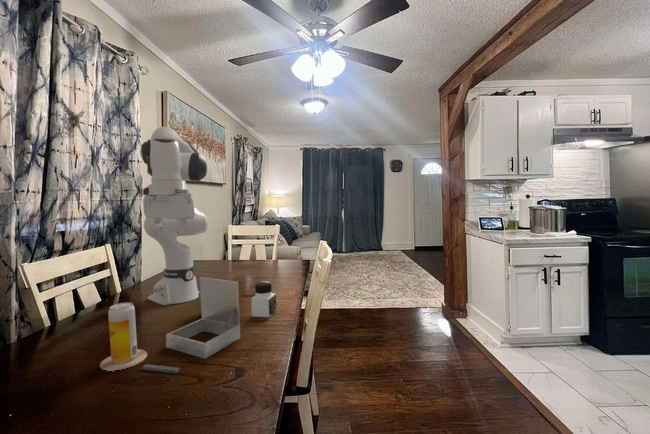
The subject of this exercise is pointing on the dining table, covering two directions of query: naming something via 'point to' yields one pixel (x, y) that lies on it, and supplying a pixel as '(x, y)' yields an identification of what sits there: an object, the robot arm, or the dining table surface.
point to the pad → (111, 366)
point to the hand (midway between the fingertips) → (170, 232)
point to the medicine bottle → (263, 300)
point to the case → (211, 320)
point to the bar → (161, 368)
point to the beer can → (122, 332)
